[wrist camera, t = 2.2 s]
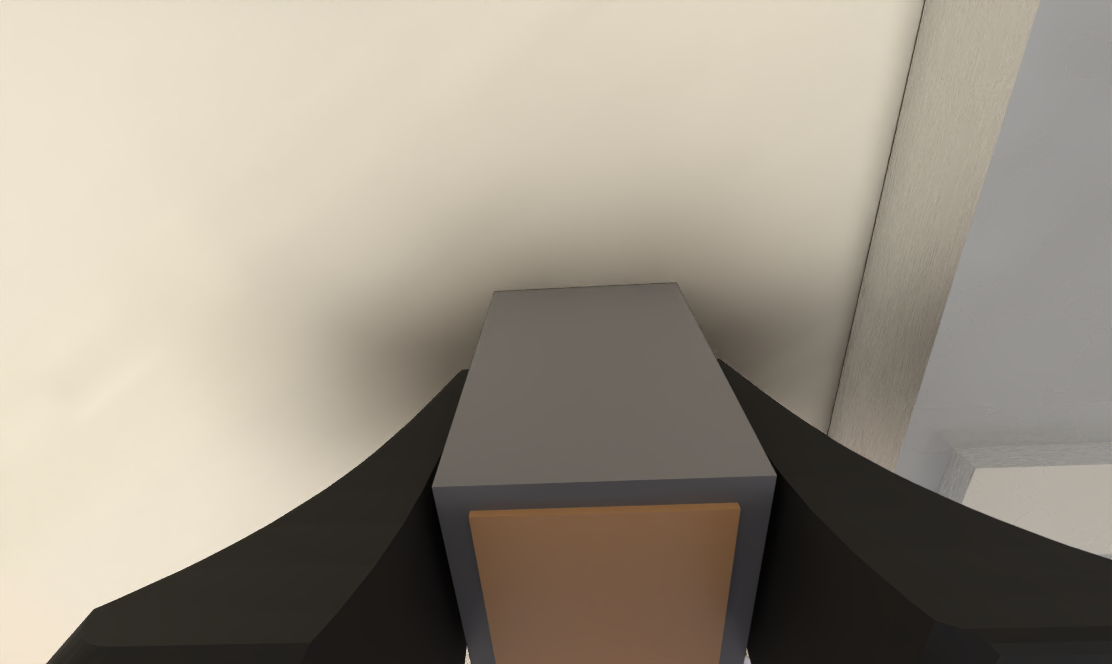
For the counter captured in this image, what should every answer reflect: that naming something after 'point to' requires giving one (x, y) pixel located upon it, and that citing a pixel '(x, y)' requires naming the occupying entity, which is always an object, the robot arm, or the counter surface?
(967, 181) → the socket plate
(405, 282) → the counter surface
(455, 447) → the plug
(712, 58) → the counter surface
